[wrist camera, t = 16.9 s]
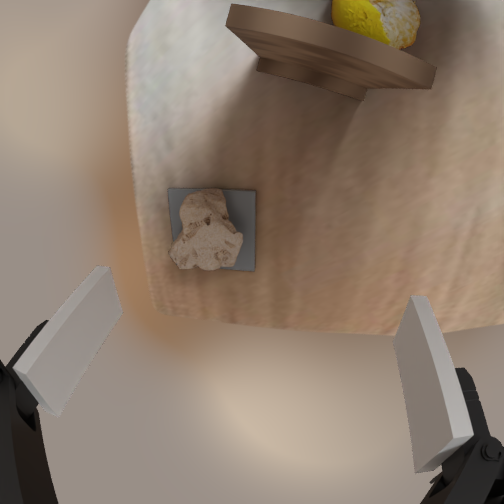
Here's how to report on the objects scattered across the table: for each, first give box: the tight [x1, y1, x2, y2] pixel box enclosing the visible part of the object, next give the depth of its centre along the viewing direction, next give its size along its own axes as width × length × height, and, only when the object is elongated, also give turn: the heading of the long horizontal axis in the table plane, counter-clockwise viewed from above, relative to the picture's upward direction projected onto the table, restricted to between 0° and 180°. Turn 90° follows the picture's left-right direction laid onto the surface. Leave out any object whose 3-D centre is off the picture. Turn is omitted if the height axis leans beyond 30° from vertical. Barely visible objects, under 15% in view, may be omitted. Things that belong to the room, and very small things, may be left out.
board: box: [225, 4, 437, 101], centre depth 23 cm, size 13×5×20 cm, turn 77°
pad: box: [168, 188, 256, 271], centre depth 44 cm, size 12×12×1 cm
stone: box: [168, 188, 243, 271], centre depth 41 cm, size 9×11×5 cm
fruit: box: [331, 0, 421, 50], centre depth 25 cm, size 11×10×8 cm
